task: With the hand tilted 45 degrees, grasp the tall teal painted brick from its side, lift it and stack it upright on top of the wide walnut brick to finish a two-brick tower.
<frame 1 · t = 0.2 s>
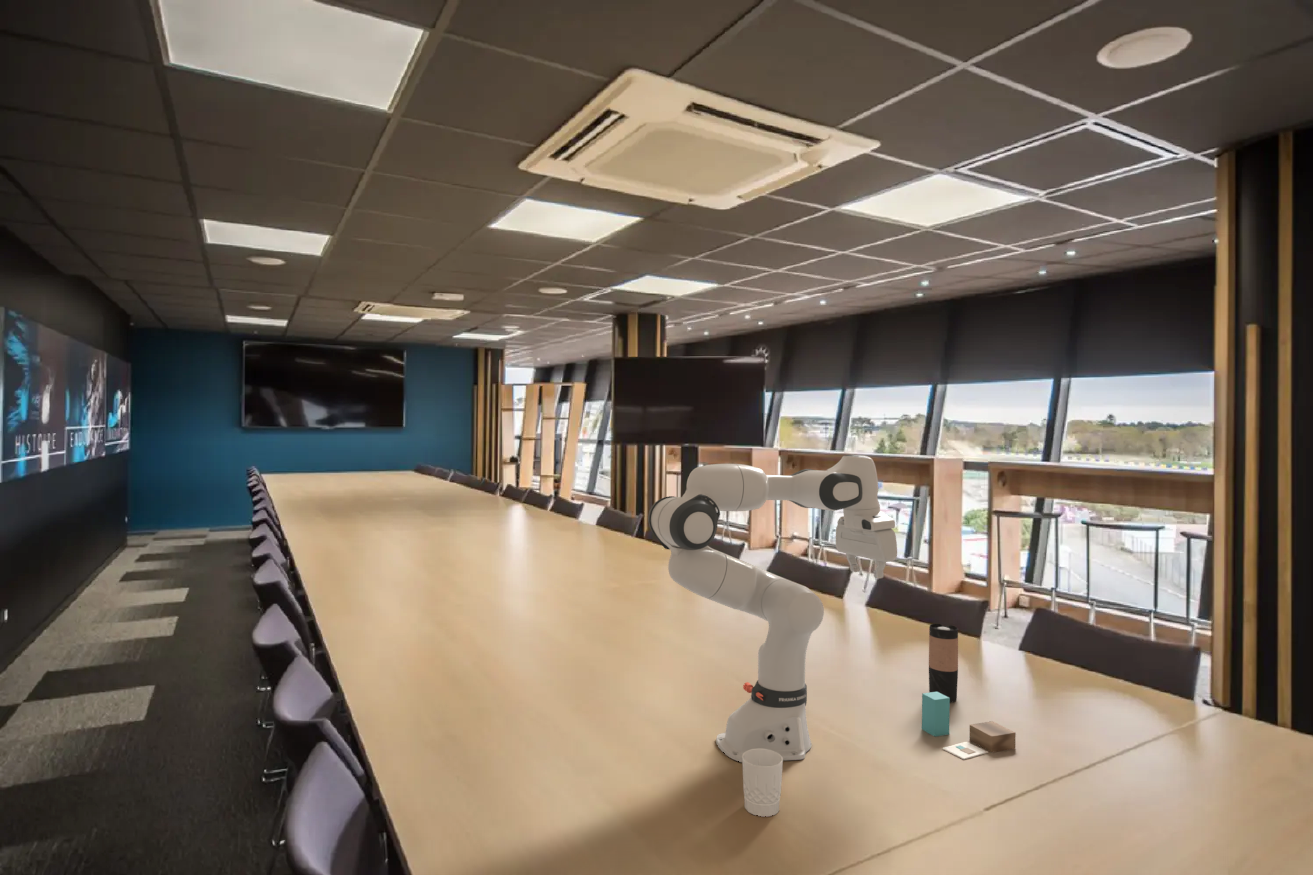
hand: (866, 574, 175), 39 cm above the table, tool pointing down, fingers open, 8 cm apart
white cup: (761, 809, 138), on the table
instruction page: (964, 750, 164), on the table
travel mug: (942, 698, 197), on the table
teal brick: (935, 731, 175), on the table
walnut brick: (992, 745, 168), on the table
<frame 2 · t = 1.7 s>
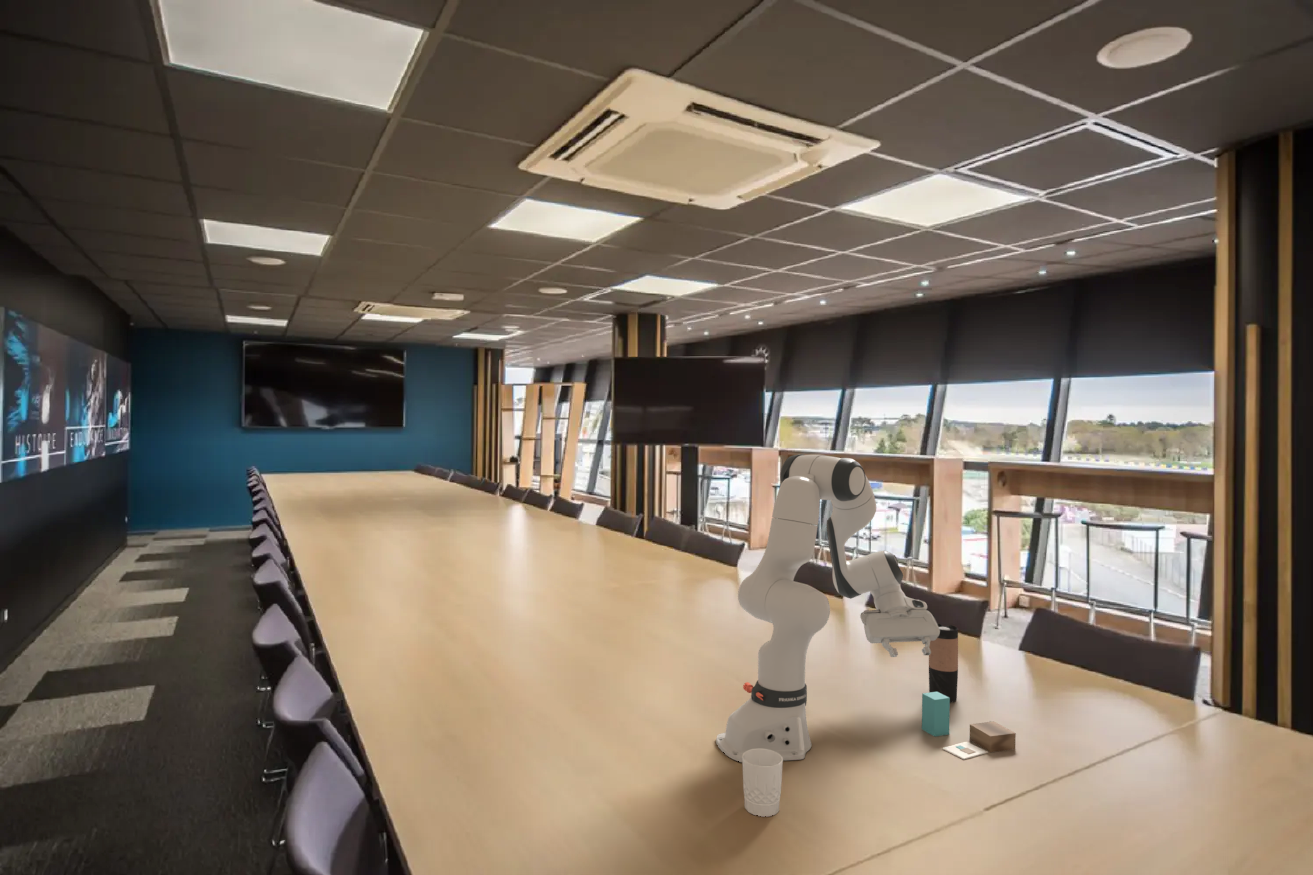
hand: (911, 655, 187), 15 cm above the table, tool tilted 45°, fingers open, 8 cm apart
nothing on the table moved.
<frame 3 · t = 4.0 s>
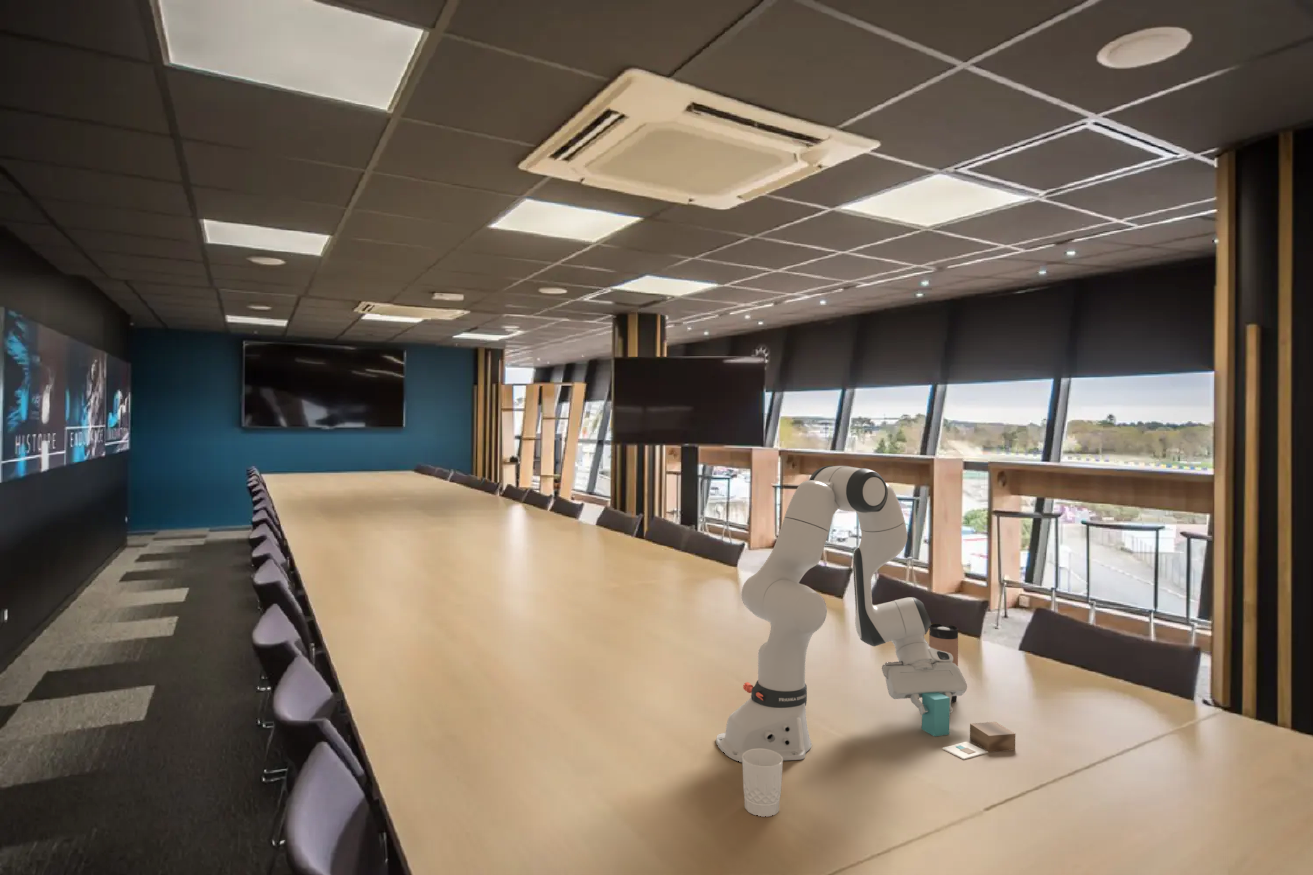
hand: (937, 712, 174), 5 cm above the table, tool tilted 45°, fingers closed on teal brick, 5 cm apart
teal brick: (935, 731, 175), on the table, touching gripper
everything else where it was.
when the fingers open (10 cm above the table, at t = 8.7 s): teal brick drops 2 cm, resting on walnut brick.
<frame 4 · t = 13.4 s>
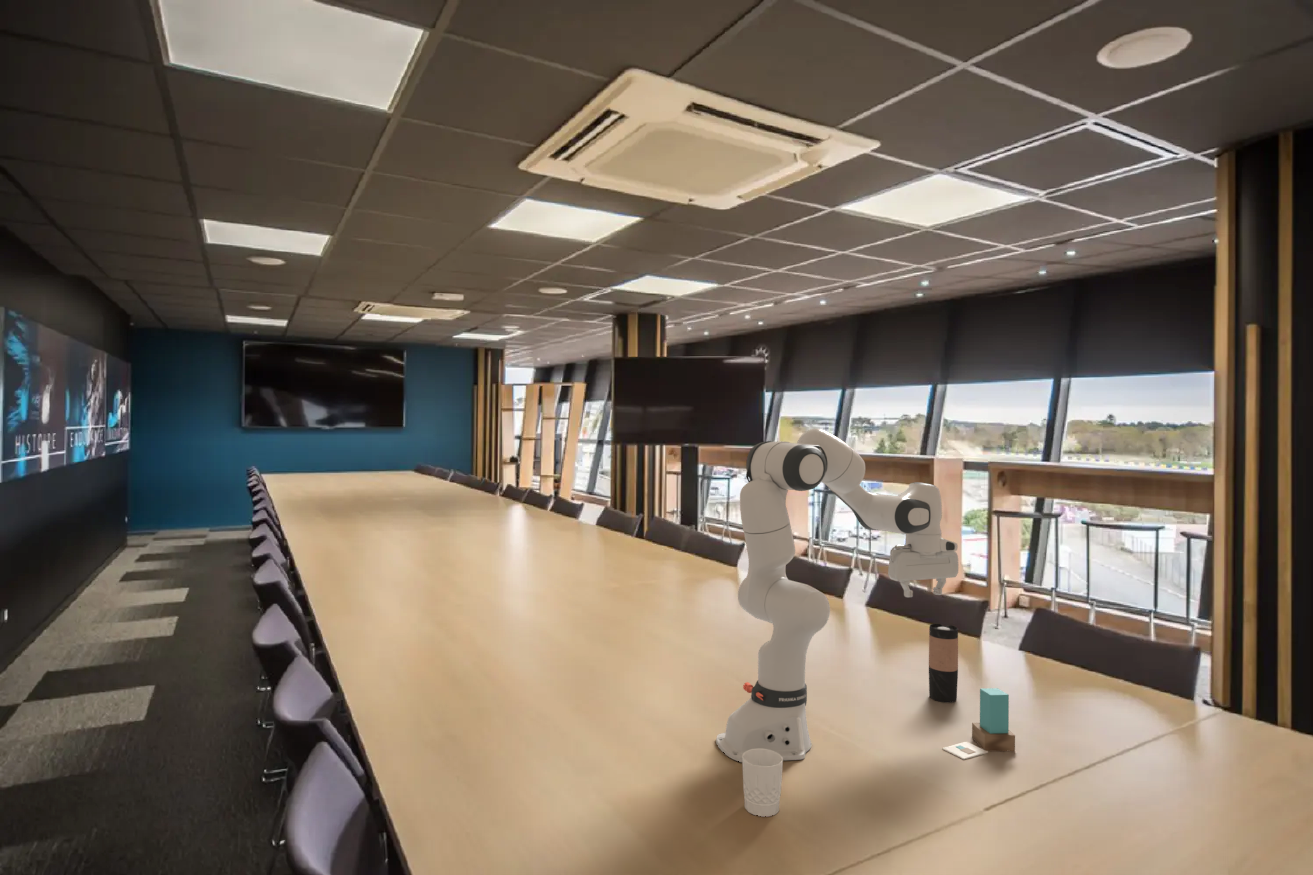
hand: (923, 595, 187), 31 cm above the table, tool pointing down, fingers open, 8 cm apart
teal brick: (993, 729, 167), point 4 cm above the table, touching walnut brick
walnut brick: (993, 745, 168), on the table, touching teal brick
everything else where it was.
at the end: teal brick 0.4 cm off-centre on the walnut brick, point 4.0 cm above the walnut brick's base; teal brick tilted 1°; the gripper is holding nothing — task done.
